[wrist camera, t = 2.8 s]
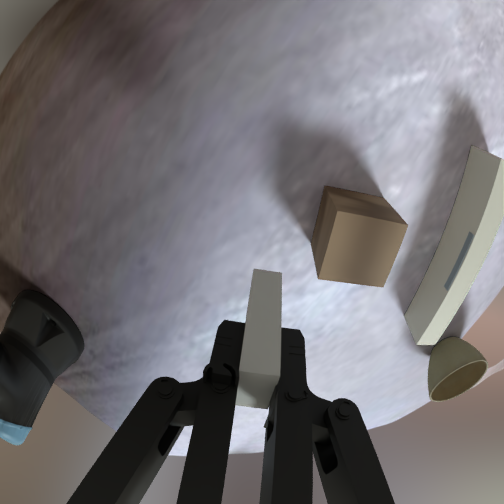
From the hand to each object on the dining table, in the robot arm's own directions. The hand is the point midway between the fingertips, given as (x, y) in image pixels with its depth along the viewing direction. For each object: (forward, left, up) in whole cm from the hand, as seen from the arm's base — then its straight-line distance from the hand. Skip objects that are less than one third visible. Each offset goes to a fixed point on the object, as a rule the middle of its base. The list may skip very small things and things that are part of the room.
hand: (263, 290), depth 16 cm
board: (+21, 0, -12) cm, 24 cm away
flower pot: (+31, -17, -13) cm, 37 cm away
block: (+8, 0, -12) cm, 15 cm away
